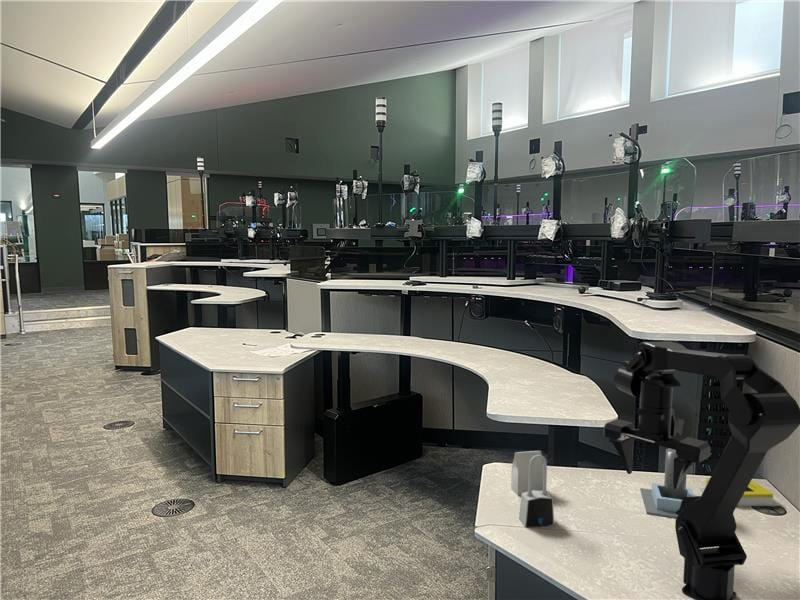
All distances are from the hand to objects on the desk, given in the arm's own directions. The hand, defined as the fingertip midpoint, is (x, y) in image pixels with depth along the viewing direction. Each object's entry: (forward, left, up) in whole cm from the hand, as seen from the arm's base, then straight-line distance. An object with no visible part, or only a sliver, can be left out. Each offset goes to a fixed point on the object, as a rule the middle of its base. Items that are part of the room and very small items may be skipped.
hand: (652, 481), depth 103 cm
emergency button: (-4, -38, -14) cm, 41 cm away
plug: (+4, -21, -13) cm, 25 cm away
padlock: (+19, +11, -13) cm, 26 cm away
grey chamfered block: (+30, 0, -13) cm, 33 cm away
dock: (+4, -21, -13) cm, 25 cm away
